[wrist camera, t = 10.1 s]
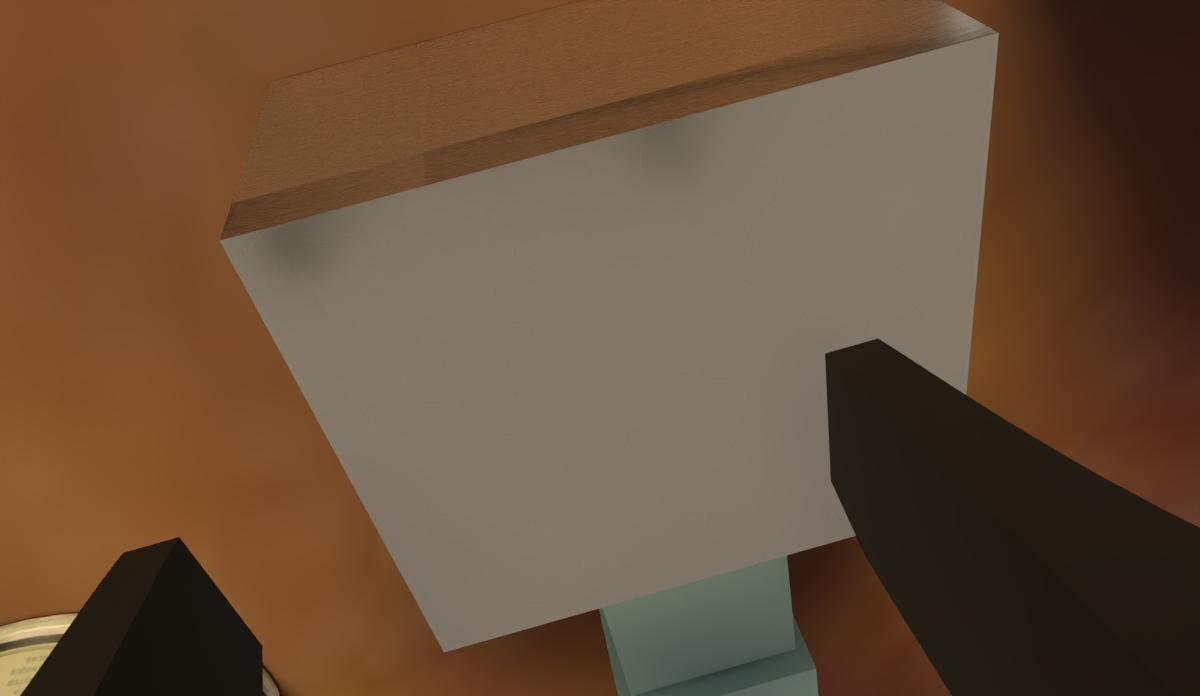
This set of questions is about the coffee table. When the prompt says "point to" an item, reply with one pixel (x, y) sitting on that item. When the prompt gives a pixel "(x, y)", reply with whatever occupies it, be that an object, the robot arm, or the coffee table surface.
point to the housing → (613, 279)
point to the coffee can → (45, 652)
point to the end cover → (712, 638)
